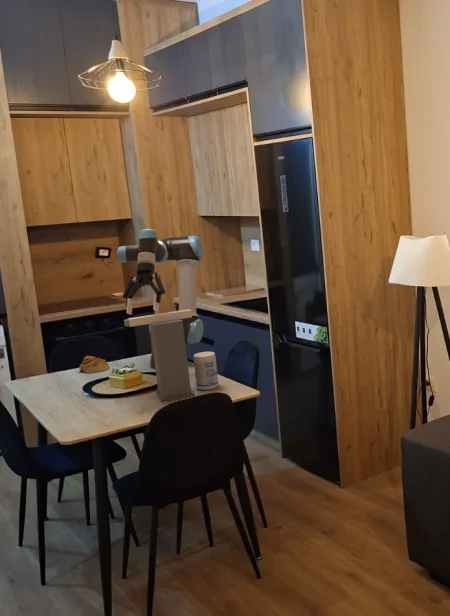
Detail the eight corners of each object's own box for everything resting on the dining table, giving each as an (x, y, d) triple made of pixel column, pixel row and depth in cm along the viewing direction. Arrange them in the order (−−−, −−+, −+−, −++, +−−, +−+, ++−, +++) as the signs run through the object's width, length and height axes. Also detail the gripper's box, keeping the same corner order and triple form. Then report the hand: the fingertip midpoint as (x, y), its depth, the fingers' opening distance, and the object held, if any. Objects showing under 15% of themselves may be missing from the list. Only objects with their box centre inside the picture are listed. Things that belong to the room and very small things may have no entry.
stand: (155, 392, 279) (146, 320, 274) (187, 387, 283) (178, 315, 277) (161, 401, 266) (151, 326, 260) (194, 395, 269) (185, 320, 264)
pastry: (78, 370, 334) (76, 355, 333) (107, 364, 338) (105, 350, 337) (81, 376, 322) (78, 360, 320) (111, 370, 326) (109, 355, 324)
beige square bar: (124, 326, 266) (123, 319, 266) (190, 316, 273) (189, 309, 272) (125, 327, 263) (124, 320, 263) (192, 317, 270) (191, 310, 269)
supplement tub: (211, 391, 273) (207, 357, 271) (192, 389, 278) (188, 356, 275) (222, 384, 281) (219, 351, 279) (204, 383, 286) (200, 350, 284)
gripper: (117, 265, 279) (112, 312, 273) (165, 257, 267) (162, 306, 261) (127, 271, 285) (123, 317, 279) (175, 263, 273) (172, 311, 267)
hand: (142, 312), depth 270 cm, fingers open, 13 cm apart
